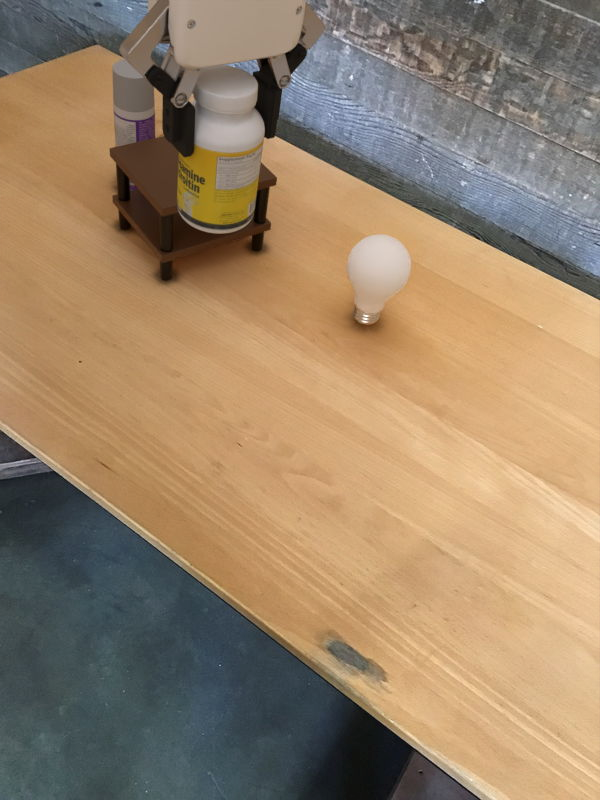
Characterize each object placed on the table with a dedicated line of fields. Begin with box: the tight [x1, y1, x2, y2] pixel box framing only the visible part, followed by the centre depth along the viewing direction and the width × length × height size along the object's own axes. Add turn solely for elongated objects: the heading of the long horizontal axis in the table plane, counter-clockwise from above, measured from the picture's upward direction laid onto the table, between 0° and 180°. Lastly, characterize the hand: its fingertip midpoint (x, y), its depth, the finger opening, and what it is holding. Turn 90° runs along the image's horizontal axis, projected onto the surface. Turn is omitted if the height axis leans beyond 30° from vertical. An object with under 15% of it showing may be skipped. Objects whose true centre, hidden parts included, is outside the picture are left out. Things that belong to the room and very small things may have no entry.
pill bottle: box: [177, 64, 265, 234], centre depth 59 cm, size 6×6×12 cm
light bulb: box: [346, 233, 412, 326], centre depth 80 cm, size 7×7×11 cm
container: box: [111, 58, 156, 191], centre depth 89 cm, size 5×5×15 cm
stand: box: [109, 135, 278, 282], centre depth 86 cm, size 14×12×10 cm
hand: (221, 136), depth 58 cm, fingers closed on pill bottle, 6 cm apart
